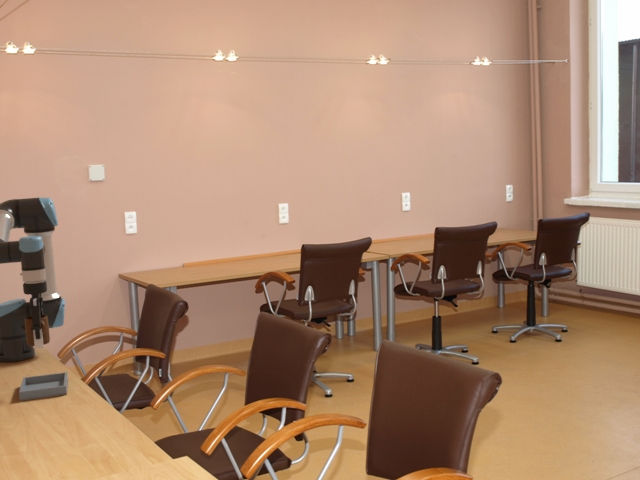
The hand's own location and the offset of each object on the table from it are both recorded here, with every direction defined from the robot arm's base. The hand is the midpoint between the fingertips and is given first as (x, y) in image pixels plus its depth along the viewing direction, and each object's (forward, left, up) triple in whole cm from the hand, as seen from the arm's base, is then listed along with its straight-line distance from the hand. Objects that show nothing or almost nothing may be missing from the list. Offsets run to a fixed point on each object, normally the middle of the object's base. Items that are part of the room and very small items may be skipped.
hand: (40, 343), depth 248 cm
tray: (0, 0, -17) cm, 17 cm away
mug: (0, 0, -1) cm, 1 cm away
